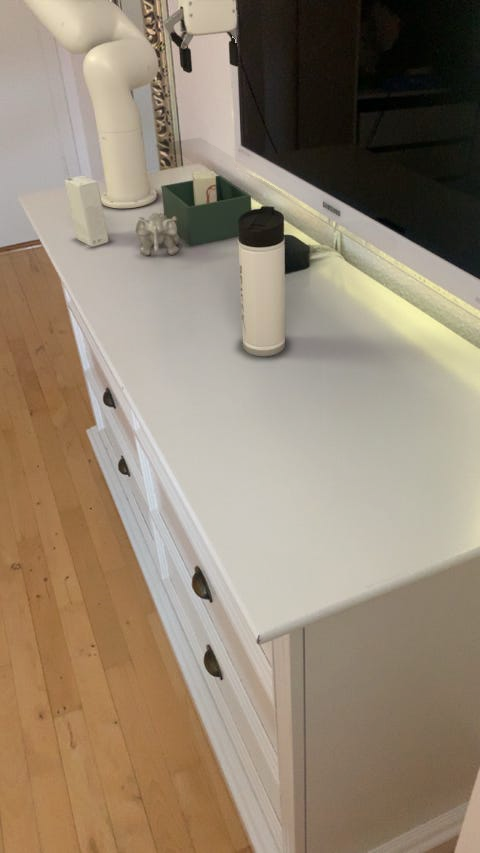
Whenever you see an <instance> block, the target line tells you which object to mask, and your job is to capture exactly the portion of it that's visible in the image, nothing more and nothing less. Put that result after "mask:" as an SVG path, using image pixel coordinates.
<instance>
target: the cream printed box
mask: <svg viewBox="0 0 480 853" xmlns="http://www.w3.org/2000/svg"><path fill="white" fill-rule="evenodd" d="M191 175H192V180H193V188H194V202H195V206H196V205H201V204H206V203H211V202H216V201H217V191H216V176H217V175H216V173H215V172H214V171H213V170H210V171H207V170H206V171H194V172H193V171H192V173H191Z"/></svg>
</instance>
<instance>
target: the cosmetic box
mask: <svg viewBox="0 0 480 853" xmlns="http://www.w3.org/2000/svg"><path fill="white" fill-rule="evenodd" d="M64 186H65V189H66V193H67V198H68V203H69V208H70V211H71V216H72V220H73V225H74V229H75V233H76V238H77V240H78V241H80V242H81V243H83V244H86V245H87V246H89V247H92V248H93V247H98V246H101V245H104V244H106V243H109V241H110V240H109V234H108V229H107V224H106V219H105V214H104V208H103V203H102V201H101V193H100V189H99V188H100V187H99V182H98V181H97V180H95V179H92V178H90V177H88V176H84V175H77V176H75V177H70V178H67V179H64Z"/></svg>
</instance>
